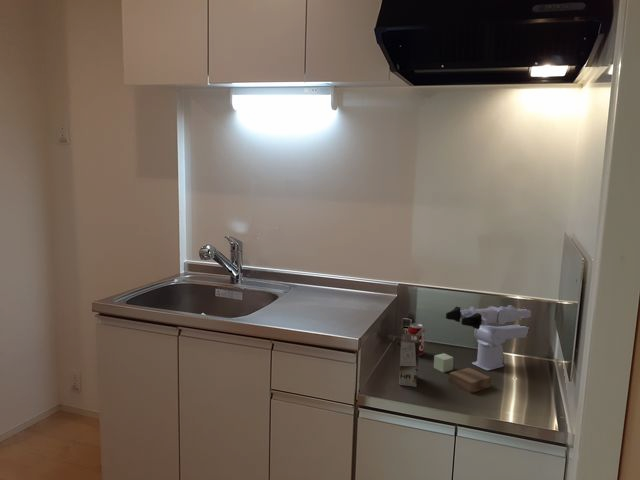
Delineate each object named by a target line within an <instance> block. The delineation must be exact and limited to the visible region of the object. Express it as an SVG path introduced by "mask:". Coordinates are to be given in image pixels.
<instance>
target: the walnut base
mask: <svg viewBox="0 0 640 480" xmlns="http://www.w3.org/2000/svg"><path fill="white" fill-rule="evenodd" d="M448 375H449V376H448V377H449V378H448V383H449V384H451V385H453V386H455V387H457V388H459V389H460V390H463V391H465V392H466V393H469V394H472V393H475V392H478V391H479V392H480V391H482V390H486V389H489V388H491V383H492V381H491V380H492V377H491V376H489V375H487V374H484V373H482V372H481V371H478V370H476V369H473V368H471V367H466V368H462V369H458V370H454V371H451V372H450V371H449V374H448Z"/></svg>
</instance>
